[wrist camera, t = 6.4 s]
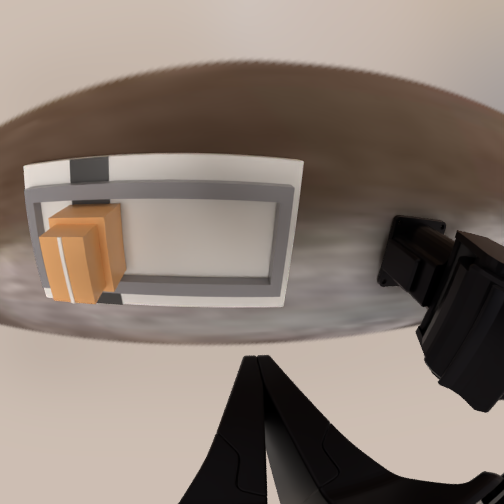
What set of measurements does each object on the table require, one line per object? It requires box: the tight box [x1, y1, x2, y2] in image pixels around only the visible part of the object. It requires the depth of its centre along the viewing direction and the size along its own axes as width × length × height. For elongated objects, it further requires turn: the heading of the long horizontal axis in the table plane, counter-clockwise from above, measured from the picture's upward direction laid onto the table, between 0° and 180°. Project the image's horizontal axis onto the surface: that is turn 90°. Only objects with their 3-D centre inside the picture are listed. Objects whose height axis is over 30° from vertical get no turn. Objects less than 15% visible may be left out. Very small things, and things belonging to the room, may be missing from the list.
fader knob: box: [39, 203, 126, 304], centre depth 15 cm, size 4×5×5 cm
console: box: [24, 153, 304, 307], centre depth 18 cm, size 20×11×2 cm, turn 85°
